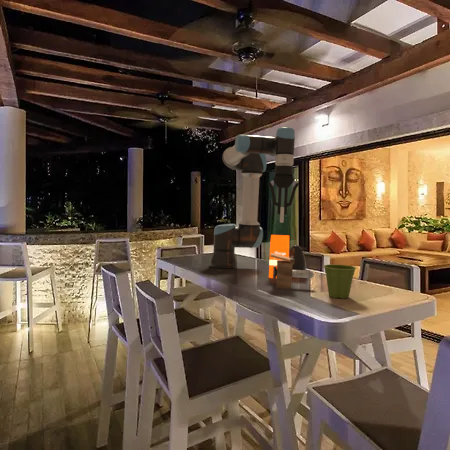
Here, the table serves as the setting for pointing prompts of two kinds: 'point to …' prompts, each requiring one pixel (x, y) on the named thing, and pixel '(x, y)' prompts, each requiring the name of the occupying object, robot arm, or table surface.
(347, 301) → the table surface
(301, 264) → the pump dispenser
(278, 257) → the plate
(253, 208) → the robot arm
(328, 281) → the plant pot
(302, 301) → the table surface
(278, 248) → the orange juice
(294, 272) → the pin
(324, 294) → the table surface
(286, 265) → the hitch block
